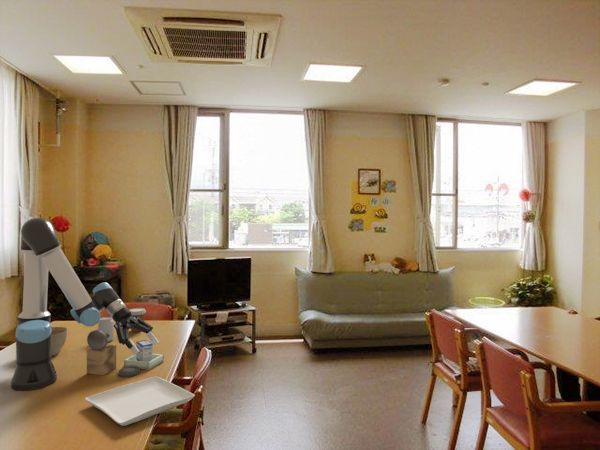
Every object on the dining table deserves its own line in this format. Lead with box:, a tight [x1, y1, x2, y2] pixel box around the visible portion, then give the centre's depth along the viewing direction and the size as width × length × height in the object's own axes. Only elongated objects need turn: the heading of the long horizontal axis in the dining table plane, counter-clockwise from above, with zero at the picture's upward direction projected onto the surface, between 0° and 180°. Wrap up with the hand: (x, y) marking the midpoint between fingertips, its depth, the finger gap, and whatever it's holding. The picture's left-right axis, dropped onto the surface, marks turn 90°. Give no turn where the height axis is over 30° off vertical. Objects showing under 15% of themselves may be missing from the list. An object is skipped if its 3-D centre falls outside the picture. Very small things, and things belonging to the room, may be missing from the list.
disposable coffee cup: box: [129, 307, 147, 333], centre depth 237 cm, size 10×10×12 cm
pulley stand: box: [86, 328, 117, 376], centre depth 175 cm, size 8×8×18 cm
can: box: [97, 316, 115, 343], centre depth 217 cm, size 8×8×12 cm
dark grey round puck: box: [118, 367, 140, 378], centre depth 173 cm, size 8×8×2 cm
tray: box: [123, 353, 165, 371], centre depth 184 cm, size 11×13×3 cm
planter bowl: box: [51, 326, 69, 357], centre depth 196 cm, size 16×16×11 cm
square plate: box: [84, 376, 195, 427], centre depth 144 cm, size 27×27×4 cm
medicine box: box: [135, 339, 154, 362], centre depth 184 cm, size 8×4×9 cm, turn 42°
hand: (147, 348), depth 183 cm, fingers open, 13 cm apart
